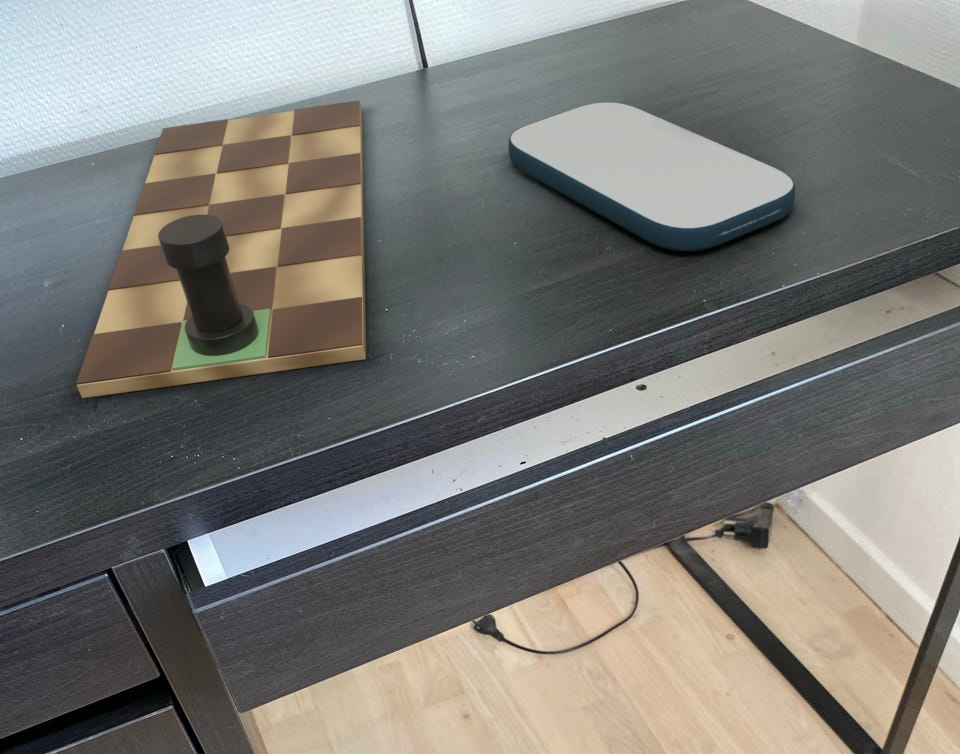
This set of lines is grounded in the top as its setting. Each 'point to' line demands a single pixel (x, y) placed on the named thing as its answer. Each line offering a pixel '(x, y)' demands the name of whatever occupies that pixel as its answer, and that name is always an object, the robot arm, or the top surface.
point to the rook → (207, 285)
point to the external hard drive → (652, 175)
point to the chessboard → (244, 247)
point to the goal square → (255, 350)
